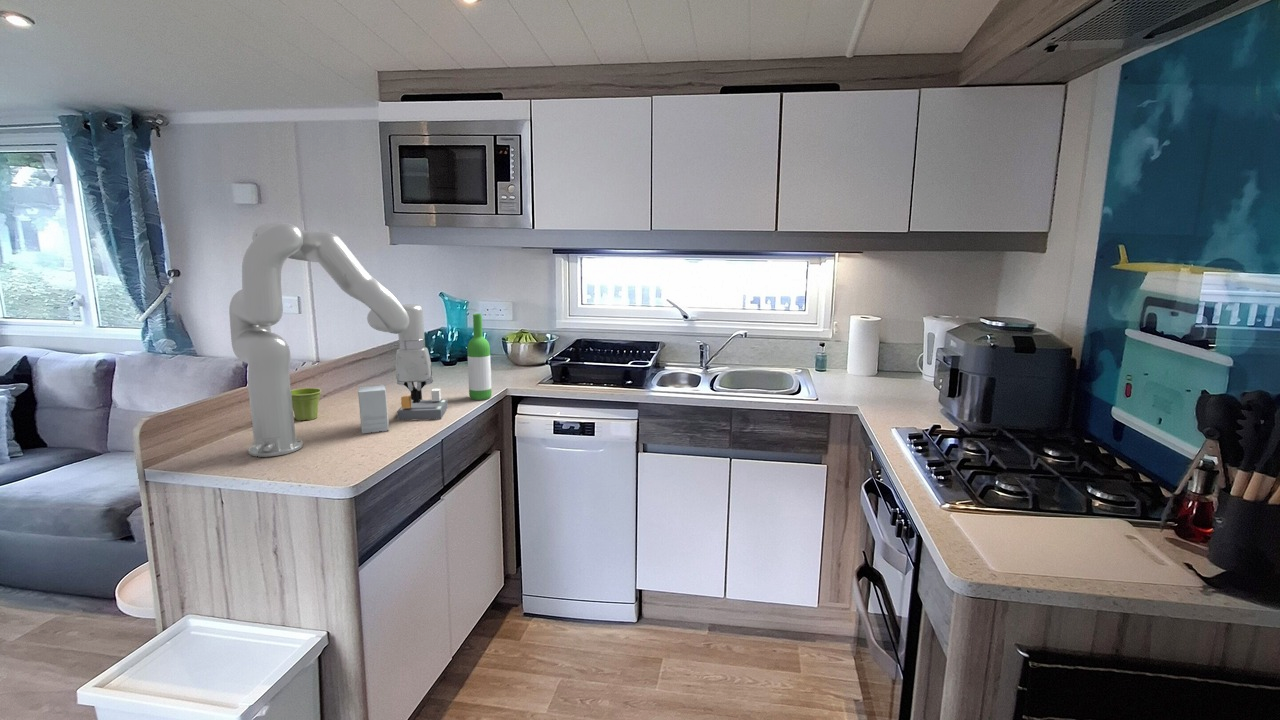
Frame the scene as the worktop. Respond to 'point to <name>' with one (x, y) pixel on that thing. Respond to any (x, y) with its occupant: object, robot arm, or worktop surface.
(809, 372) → the worktop surface
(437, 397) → the white slider switch
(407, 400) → the block
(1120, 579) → the worktop surface
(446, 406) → the slider switch panel
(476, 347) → the wine bottle
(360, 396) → the supplement box
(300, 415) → the plant pot
